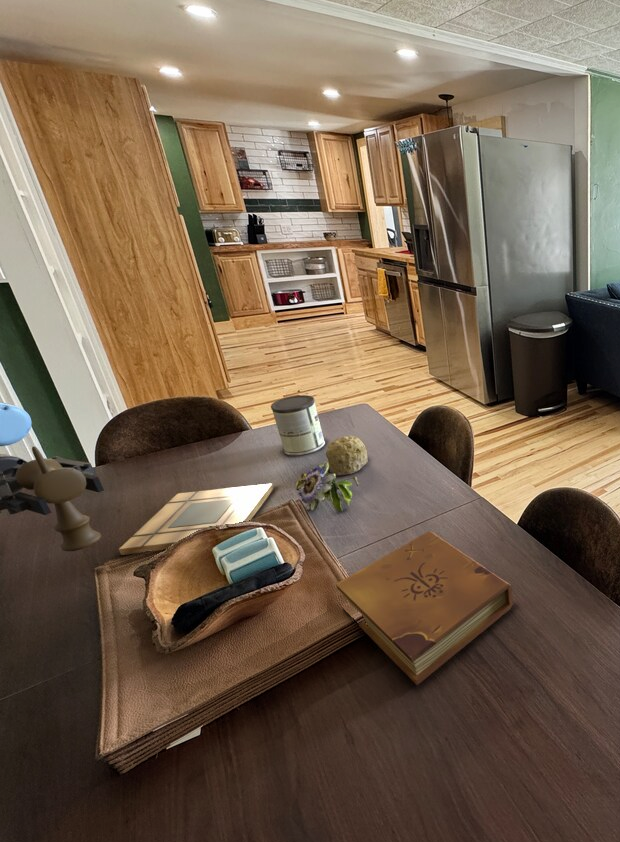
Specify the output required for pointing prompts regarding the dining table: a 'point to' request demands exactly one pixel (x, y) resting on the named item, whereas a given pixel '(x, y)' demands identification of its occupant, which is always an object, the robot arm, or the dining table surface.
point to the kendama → (59, 498)
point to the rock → (346, 455)
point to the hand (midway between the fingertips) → (72, 495)
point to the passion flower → (323, 488)
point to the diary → (426, 602)
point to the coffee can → (298, 424)
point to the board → (196, 515)
